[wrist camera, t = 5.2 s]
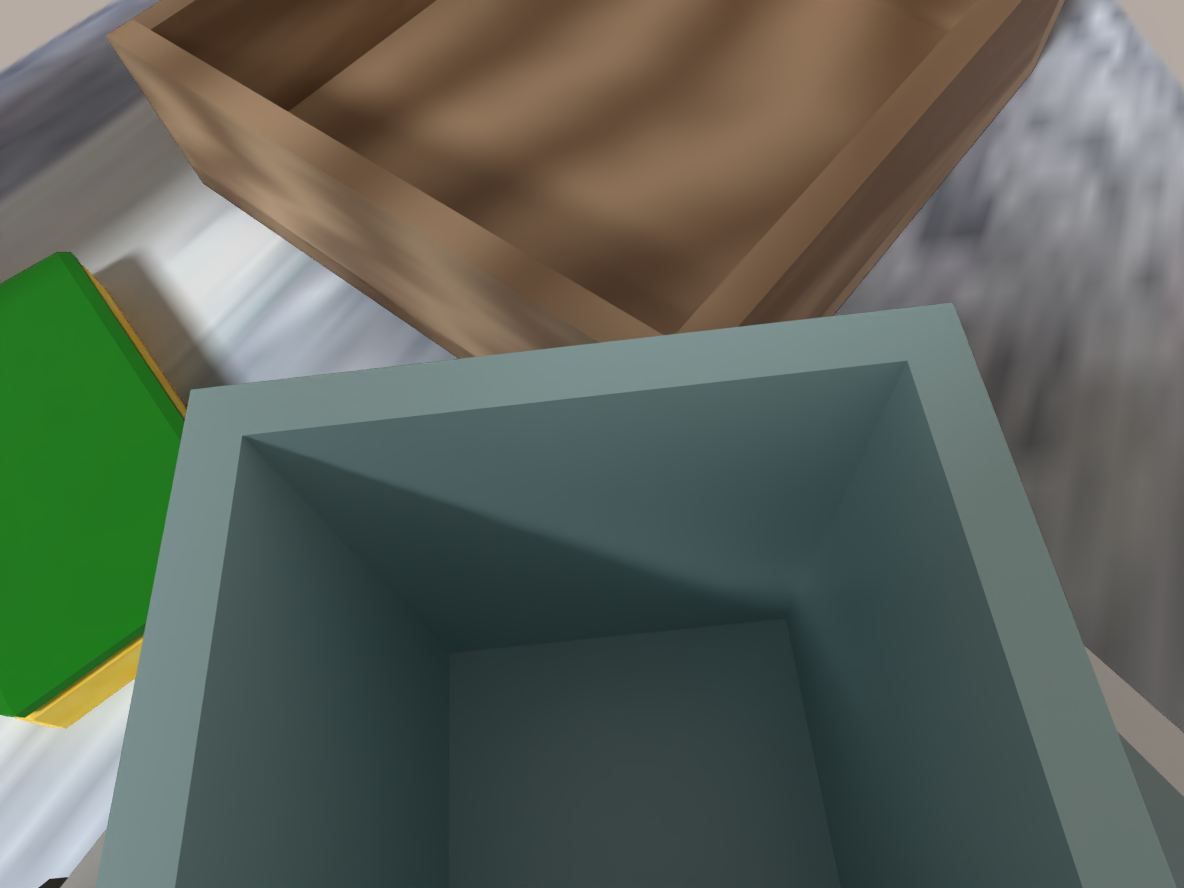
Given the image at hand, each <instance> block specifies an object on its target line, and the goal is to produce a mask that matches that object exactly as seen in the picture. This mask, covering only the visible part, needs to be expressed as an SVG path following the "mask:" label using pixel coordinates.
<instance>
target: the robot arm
mask: <svg viewBox="0 0 1184 888" xmlns="http://www.w3.org/2000/svg"><path fill="white" fill-rule="evenodd" d="M1085 649H1086V651H1087V654H1088V657H1089V659H1090V662H1091V664H1092V667H1093V670H1094V672H1095V675H1096V678H1097V680H1098V683H1099V685H1100V688H1101V691H1102V693H1103V696H1104V698H1105V701H1106V704H1107V706H1108V709H1109V712H1110V714H1111V717H1112V719H1113V722H1114V725H1115V727H1116V730H1117V732H1118V735H1119V738H1120V740H1121V743H1122V746H1123V748H1124V751H1125V753H1126V756H1127V759H1128V761H1129V764H1130V766H1131V769H1132V772H1133V774H1134V777H1135V779H1136V782H1137V785H1138V787H1139V790H1140V793H1141V795H1142V798H1143V800H1144V803H1145V806H1146V808H1147V811H1148V813H1149V816H1150V819H1151V821H1152V824H1153V827H1154V829H1155V832H1156V834H1157V837H1158V840H1159V842H1160V845H1161V847H1162V850H1163V853H1164V855H1165V858H1166V861H1167V863H1168V866H1169V868H1170V871H1171V874H1172V876H1173V879H1174V881H1175V884H1176V887H1177V888H1184V733H1183V732H1182V731H1181V730H1180V729H1179V728H1177V727H1176V726H1175V725H1174V724H1173V723H1172V722H1171V721H1169V720H1168V719H1167V718H1166V717H1165V716H1164V715H1163V714H1161V713H1160V712H1159V711H1158V710H1157V709H1156V708H1155V707H1153V706H1152V705H1151V704H1150V703H1149V702H1148V701H1147V700H1146V699H1144V698H1143V697H1142V696H1141V695H1140V694H1139V693H1138V692H1136V691H1135V690H1134V689H1133V688H1132V687H1131V686H1130V685H1128V684H1127V683H1126V682H1125V681H1124V680H1123V679H1122V678H1120V677H1119V676H1118V675H1117V674H1116V673H1115V672H1114V671H1113V670H1111V669H1110V668H1109V667H1108V666H1107V665H1106V664H1105V663H1103V662H1102V661H1101V660H1100V659H1099V658H1098V657H1097V656H1095V655H1094V654H1093V653H1092V652H1091V651H1090V650H1089V649H1087V648H1086V647H1085ZM106 830H107V829H106ZM106 830H105V831H104V833H103V834H102V835H101V837H100V838H99V839H98V840H97V842H96V843H95V844H94V845H93V847H92V848H91V849H90V851H89V852H88V853H87V854H86V856H85V857H84V858H83V859H82V861H81V862H80V863H79V864H78V866H77V867H76V868H75V870H74V871H73V872H72V873H71V875H70V876H69V877H65V878H55V879H49V880H48V881H47V882H45V883H44V884H43V885H42V886H40V887H39V888H96V883H97V877H98V872H99V867H100V862H101V856H102V851H103V846H104V841H105V836H106Z"/></svg>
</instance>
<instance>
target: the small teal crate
mask: <svg viewBox="0 0 1184 888" xmlns="http://www.w3.org/2000/svg"><path fill="white" fill-rule="evenodd" d="M96 888H1177V887H1176V884H1175V881H1174V879H1173V876H1172V874H1171V871H1170V868H1169V866H1168V863H1167V861H1166V858H1165V855H1164V853H1163V850H1162V847H1161V845H1160V842H1159V840H1158V837H1157V834H1156V832H1155V829H1154V827H1153V824H1152V821H1151V819H1150V816H1149V813H1148V811H1147V808H1146V806H1145V803H1144V800H1143V798H1142V795H1141V793H1140V790H1139V787H1138V785H1137V782H1136V779H1135V777H1134V774H1133V772H1132V769H1131V766H1130V764H1129V761H1128V759H1127V756H1126V753H1125V751H1124V748H1123V746H1122V743H1121V740H1120V738H1119V735H1118V732H1117V730H1116V727H1115V725H1114V722H1113V719H1112V717H1111V714H1110V712H1109V709H1108V706H1107V704H1106V701H1105V698H1104V696H1103V693H1102V691H1101V688H1100V685H1099V683H1098V680H1097V678H1096V675H1095V672H1094V670H1093V667H1092V664H1091V662H1090V659H1089V657H1088V654H1087V651H1086V649H1085V646H1084V644H1083V641H1082V638H1081V636H1080V633H1079V631H1078V628H1077V625H1076V623H1075V620H1074V617H1073V615H1072V612H1071V610H1070V607H1069V604H1068V602H1067V599H1066V597H1065V594H1064V591H1063V589H1062V586H1061V583H1060V581H1059V578H1058V576H1057V573H1056V570H1055V568H1054V565H1053V563H1052V560H1051V557H1050V555H1049V552H1048V549H1047V547H1046V544H1045V542H1044V539H1043V536H1042V534H1041V531H1040V529H1039V526H1038V523H1037V521H1036V518H1035V516H1034V513H1033V510H1032V508H1031V505H1030V502H1029V500H1028V497H1027V495H1026V492H1025V489H1024V487H1023V484H1022V482H1021V479H1020V476H1019V474H1018V471H1017V468H1016V466H1015V463H1014V461H1013V458H1012V455H1011V453H1010V450H1009V448H1008V445H1007V442H1006V440H1005V437H1004V434H1003V432H1002V429H1001V427H1000V424H999V421H998V419H997V416H996V414H995V411H994V408H993V406H992V403H991V401H990V398H989V395H988V393H987V390H986V387H985V385H984V382H983V380H982V377H981V374H980V372H979V369H978V367H977V364H976V361H975V359H974V356H973V353H972V351H971V348H970V346H969V343H968V340H967V338H966V335H965V333H964V330H963V327H962V325H961V322H960V319H959V317H958V314H957V312H956V309H955V306H954V304H953V302H951V303H943V304H934V305H925V306H916V307H908V308H899V309H890V310H881V311H873V312H864V313H855V314H846V315H838V316H829V317H820V318H811V319H803V320H794V321H785V322H777V323H768V324H759V325H750V326H742V327H733V328H724V329H715V330H707V331H698V332H689V333H680V334H672V335H663V336H654V337H646V338H637V339H628V340H619V341H611V342H602V343H593V344H584V345H576V346H567V347H558V348H549V349H541V350H532V351H523V352H514V353H506V354H497V355H488V356H480V357H471V358H462V359H453V360H445V361H436V362H427V363H418V364H410V365H401V366H392V367H383V368H375V369H366V370H357V371H349V372H340V373H331V374H322V375H314V376H305V377H296V378H287V379H279V380H270V381H261V382H252V383H244V384H235V385H226V386H217V387H209V388H200V389H191V390H190V396H189V401H188V406H187V411H186V416H185V422H184V427H183V432H182V437H181V443H180V448H179V453H178V458H177V464H176V469H175V474H174V479H173V485H172V490H171V495H170V500H169V506H168V511H167V516H166V521H165V526H164V532H163V537H162V542H161V547H160V553H159V558H158V563H157V568H156V574H155V579H154V584H153V589H152V595H151V600H150V605H149V610H148V616H147V621H146V626H145V631H144V636H143V642H142V647H141V652H140V657H139V663H138V668H137V673H136V678H135V684H134V689H133V694H132V699H131V705H130V710H129V715H128V720H127V726H126V731H125V736H124V741H123V746H122V752H121V757H120V762H119V767H118V773H117V778H116V783H115V788H114V794H113V799H112V804H111V809H110V815H109V820H108V825H107V830H106V836H105V841H104V846H103V851H102V856H101V862H100V867H99V872H98V877H97V883H96Z"/></svg>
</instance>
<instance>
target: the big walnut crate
mask: <svg viewBox="0 0 1184 888" xmlns="http://www.w3.org/2000/svg"><path fill="white" fill-rule="evenodd" d="M1064 2H1065V0H161V1H159V2H157V3H156V4H154V5H153V6H151V7H150V8H148V9H147V10H145V11H144V12H142V13H140V14H139V15H137V16H136V17H134V18H133V19H131V20H130V21H128V22H127V23H125V24H123V25H122V26H120V27H119V28H117V29H116V30H114V31H113V32H111V33H109V34H108V35H106V37H107V39H108V40H109V42H110V43H111V45H112V46H113V48H114V49H115V51H116V52H117V54H118V56H119V57H120V59H121V60H122V62H123V63H124V65H125V66H126V68H127V69H128V71H129V72H130V74H131V75H132V77H133V78H134V80H135V81H136V83H137V84H138V86H139V87H140V89H141V90H142V92H143V93H144V95H145V96H146V98H147V99H148V101H149V102H150V104H151V105H152V107H153V108H154V110H155V111H156V113H157V114H158V116H159V117H160V119H161V120H162V122H163V123H164V125H165V126H166V128H167V129H168V131H169V133H170V134H171V136H172V137H173V139H174V140H175V142H176V143H177V145H178V146H179V148H180V149H181V151H182V152H183V154H184V155H185V157H186V158H187V160H188V161H189V163H190V164H191V166H192V167H193V169H194V170H195V172H196V173H197V175H198V176H199V178H200V179H201V181H202V182H203V184H205V185H206V186H208V187H209V188H211V189H212V190H214V191H215V192H216V193H218V194H219V195H221V196H222V197H224V198H225V199H227V200H228V201H230V202H231V203H233V204H234V205H235V206H237V207H238V208H240V209H241V210H243V211H244V212H246V213H247V214H249V215H250V216H251V217H253V218H254V219H256V220H257V221H259V222H260V223H262V224H263V225H265V226H266V227H268V228H269V229H270V230H272V231H273V232H275V233H276V234H278V235H279V236H281V237H282V238H284V239H285V240H286V241H288V242H289V243H291V244H292V245H294V246H295V247H297V248H298V249H300V250H301V251H303V252H304V253H305V254H307V255H308V256H310V257H311V258H313V259H314V260H316V261H317V262H319V263H320V264H321V265H323V266H324V267H326V268H327V269H329V270H330V271H332V272H333V273H335V274H336V275H338V276H339V277H340V278H342V279H343V280H345V281H346V282H348V283H349V284H351V285H352V286H354V287H355V288H357V289H358V290H359V291H361V292H362V293H364V294H365V295H367V296H368V297H370V298H371V299H373V300H374V301H375V302H377V303H378V304H380V305H381V306H383V307H384V308H386V309H387V310H389V311H390V312H392V313H393V314H394V315H396V316H397V317H399V318H400V319H402V320H403V321H405V322H406V323H408V324H409V325H410V326H412V327H413V328H415V329H416V330H418V331H419V332H421V333H422V334H424V335H425V336H427V337H428V338H429V339H431V340H432V341H434V342H435V343H437V344H438V345H440V346H441V347H443V348H444V349H445V350H447V351H448V352H450V353H451V354H453V355H454V356H456V357H457V358H459V359H462V358H471V357H480V356H488V355H497V354H506V353H514V352H523V351H532V350H541V349H549V348H558V347H567V346H576V345H584V344H593V343H602V342H611V341H619V340H628V339H637V338H646V337H654V336H663V335H672V334H680V333H689V332H698V331H707V330H715V329H724V328H733V327H742V326H750V325H759V324H768V323H777V322H785V321H794V320H803V319H811V318H820V317H829V316H833V315H834V314H835V313H836V312H837V310H838V309H839V308H840V307H841V306H842V304H843V303H844V302H845V301H846V299H847V298H848V297H849V296H850V295H851V293H852V292H853V291H854V290H855V288H856V287H857V286H858V285H859V284H860V282H861V281H862V280H863V279H864V277H865V276H866V275H867V274H868V273H869V271H870V270H871V269H872V268H873V266H874V265H875V264H876V263H877V261H878V260H879V259H880V258H881V257H882V255H883V254H884V253H885V252H886V250H887V249H888V248H889V247H890V246H891V244H892V243H893V242H894V241H895V239H896V238H897V237H898V236H899V235H900V233H901V232H902V231H903V230H904V228H905V227H906V226H907V225H908V224H909V222H910V221H911V220H912V219H913V217H914V216H915V215H916V214H917V213H918V211H919V210H920V209H921V208H922V206H923V205H924V204H925V203H926V201H927V200H928V199H929V198H930V197H931V195H932V194H933V193H934V192H935V190H936V189H937V188H938V187H939V186H940V184H941V183H942V182H943V181H944V179H945V178H946V177H947V176H948V175H949V173H950V172H951V171H952V170H953V168H954V167H955V166H956V165H957V164H958V162H959V161H960V160H961V159H962V157H963V156H964V155H965V154H966V153H967V151H968V150H969V149H970V148H971V146H972V145H973V144H974V143H975V141H976V140H977V139H978V138H979V137H980V135H981V134H982V133H983V132H984V130H985V129H986V128H987V127H988V126H989V124H990V123H991V122H992V121H993V119H994V118H995V117H996V116H997V115H998V113H999V112H1000V111H1001V110H1002V108H1003V107H1004V106H1005V105H1006V104H1007V102H1008V101H1009V100H1010V99H1011V97H1012V96H1013V95H1014V94H1015V93H1016V91H1017V90H1018V89H1019V88H1020V86H1021V85H1022V84H1023V83H1024V81H1025V80H1026V79H1027V78H1028V77H1029V75H1030V74H1031V73H1032V72H1033V69H1034V67H1035V65H1036V63H1037V61H1038V58H1039V56H1040V54H1041V52H1042V50H1043V47H1044V45H1045V43H1046V41H1047V39H1048V37H1049V34H1050V32H1051V30H1052V28H1053V26H1054V23H1055V21H1056V19H1057V17H1058V15H1059V13H1060V10H1061V8H1062V6H1063V4H1064Z"/></svg>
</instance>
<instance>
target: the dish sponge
mask: <svg viewBox="0 0 1184 888" xmlns="http://www.w3.org/2000/svg"><path fill="white" fill-rule="evenodd" d="M186 411H187V409H186V407H185V406H184V404H183V403H182V401H181V400H180V398H179V397H178V395H177V394H176V392H175V391H174V389H173V388H172V386H171V385H170V383H169V382H168V381H167V379H166V378H165V376H164V375H163V373H162V372H161V370H160V369H159V367H158V366H157V364H156V363H155V361H154V360H153V358H152V357H151V355H150V354H149V352H148V351H147V350H146V348H145V347H144V345H143V344H142V342H141V341H140V339H139V338H138V336H137V335H136V333H135V332H134V330H133V329H132V327H131V326H130V324H129V323H128V321H127V320H126V319H125V317H124V316H123V314H122V313H121V311H120V310H119V308H118V307H117V305H116V304H115V302H114V301H113V299H112V298H111V296H110V295H109V293H108V292H107V290H106V289H105V288H104V287H103V286H102V285H101V284H100V283H99V282H98V280H97V279H96V278H95V277H94V276H93V275H92V274H91V273H90V272H89V271H88V270H87V269H86V268H85V267H84V266H83V265H81V264H80V262H79V261H78V259H77V258H76V257H75V256H74V255H73V254H72V253H71V252H56V253H54V254H53V255H51V256H49V257H47V258H46V259H44V260H42V261H40V262H38V263H37V264H35V265H33V266H31V267H30V268H28V269H26V270H24V271H22V272H21V273H19V274H17V275H15V276H14V277H12V278H10V279H8V280H7V281H5V282H3V283H1V284H0V715H4V716H9V717H15V718H16V719H20V720H24V721H28V722H32V723H36V724H40V725H44V726H48V727H57V728H68V727H69V726H70V725H72V724H73V723H74V722H76V721H77V720H78V719H80V718H81V717H83V716H84V715H85V714H87V713H88V712H89V711H91V710H92V709H94V708H95V707H96V706H98V705H99V704H100V703H102V702H103V701H105V700H106V699H107V698H109V697H110V696H111V695H113V694H114V693H115V692H117V691H118V690H120V689H121V688H122V687H124V686H125V685H126V684H128V683H129V682H131V681H132V680H133V679H135V678H136V673H137V668H138V663H139V657H140V652H141V647H142V642H143V636H144V631H145V626H146V621H147V616H148V610H149V605H150V600H151V595H152V589H153V584H154V579H155V574H156V568H157V563H158V558H159V553H160V547H161V542H162V537H163V532H164V526H165V521H166V516H167V511H168V506H169V500H170V495H171V490H172V485H173V479H174V474H175V469H176V464H177V458H178V453H179V448H180V443H181V437H182V432H183V427H184V422H185V416H186Z"/></svg>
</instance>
